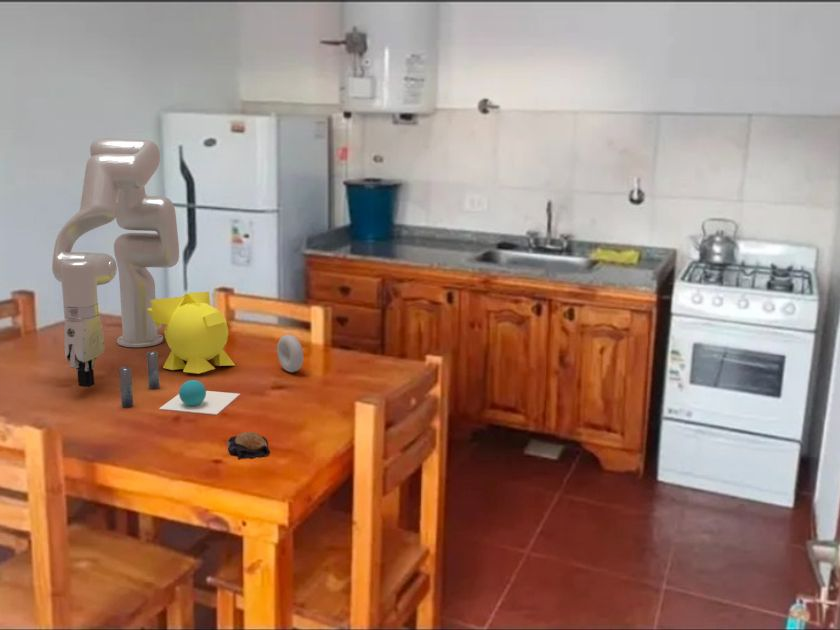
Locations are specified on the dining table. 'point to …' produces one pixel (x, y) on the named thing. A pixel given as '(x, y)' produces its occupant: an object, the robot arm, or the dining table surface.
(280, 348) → the donut
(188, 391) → the ball
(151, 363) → the post
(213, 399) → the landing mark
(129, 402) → the post
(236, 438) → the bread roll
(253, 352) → the dining table surface
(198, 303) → the piggy bank
